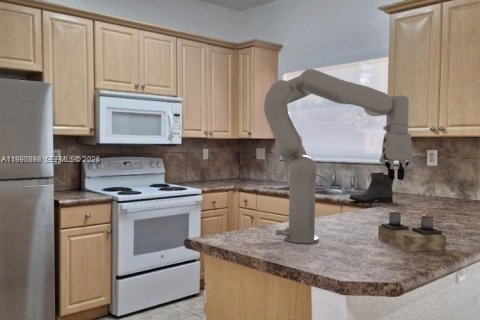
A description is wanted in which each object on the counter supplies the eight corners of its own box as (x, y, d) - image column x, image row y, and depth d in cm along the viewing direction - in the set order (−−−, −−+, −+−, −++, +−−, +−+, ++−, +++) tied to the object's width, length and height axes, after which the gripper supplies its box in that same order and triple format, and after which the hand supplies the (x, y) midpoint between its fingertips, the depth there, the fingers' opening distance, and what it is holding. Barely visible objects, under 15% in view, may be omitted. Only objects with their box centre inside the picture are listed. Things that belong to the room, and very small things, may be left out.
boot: (346, 201, 277) (346, 171, 276) (388, 200, 281) (389, 171, 280) (352, 203, 267) (353, 172, 266) (396, 202, 271) (397, 172, 270)
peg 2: (425, 234, 149) (425, 215, 148) (418, 232, 153) (418, 214, 152) (435, 234, 149) (435, 215, 149) (428, 232, 153) (428, 213, 153)
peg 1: (392, 230, 156) (393, 212, 156) (386, 228, 160) (387, 210, 160) (402, 230, 157) (403, 212, 157) (396, 227, 161) (397, 210, 161)
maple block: (408, 251, 144) (409, 233, 143) (378, 238, 163) (378, 222, 163) (445, 250, 146) (446, 232, 146) (411, 237, 166) (411, 221, 166)
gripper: (381, 129, 152) (380, 180, 153) (423, 129, 155) (422, 180, 156) (371, 129, 159) (370, 179, 160) (411, 130, 162) (409, 178, 163)
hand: (395, 179), depth 158 cm, fingers open, 3 cm apart
